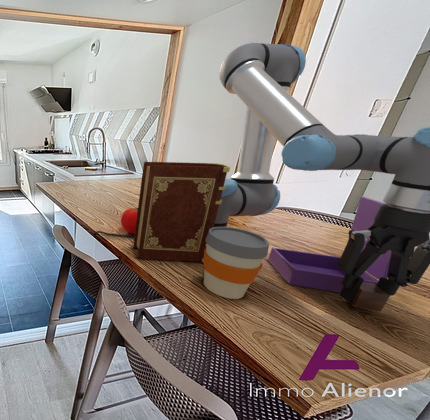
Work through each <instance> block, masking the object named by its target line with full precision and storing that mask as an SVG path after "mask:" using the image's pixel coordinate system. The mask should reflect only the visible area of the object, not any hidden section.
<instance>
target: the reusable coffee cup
mask: <svg viewBox="0 0 430 420" xmlns="http://www.w3.org/2000/svg"><path fill="white" fill-rule="evenodd" d="M206 243H207V246H206V248H205V250H204V261H203V262H202V263H203V265H202V266H203V269H204V275H203V276H204V277H203V285H204V287H206V289H207V290H208V291H210V292H211V293H213V294H215V295H217V296H219V297H222V298H226V299H231V300H239V299H241V298H243V297H244V296H245V294H246V292H247V291H248V288H249V286H250V284H253V282H255V280H256V278H257V277H258V274H259V273H260V271H261V269H262V267H263V260H264V259H265V258H267V256H268V253H269V247H270V242H269V240H268V239H267V238H265V237H264V236H262V235H260V234H257V233H255V232H252V231H249V230H246V229H242V228H237V227H231V226H227V227H213V228H211V229H210V230H209V232H208V235H207V237H206Z"/></svg>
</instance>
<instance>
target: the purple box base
mask: <svg viewBox="0 0 430 420" xmlns="http://www.w3.org/2000/svg"><path fill="white" fill-rule="evenodd" d="M340 258H341V256H335V255H329V254H321V253H313V252H306V251H299V250H293V249H286V248H285V249H284V248H278V247H271V249H270V252H269V256H268V259H267V261H268V262H269V263H270V265H271V266H272V267H273V268H274V269H275V270H276V271H277V272H278V273H279V274H280V276H281V277H282V278H283V279H284V280H285V281H286V283H288V284H289V285H294V286H299V287H303V288H304V287H305V288H310V289H316V290H320V291H321V290H322V291H328V292H333V293H339V294H340V292H341V291H342V289H343V287H344V286H343V285H342V280H343V278H344V276H345V274H346V273H345V272H343V271H342V270H341V269H339V268H338V267H337V264H338V262H339V260H340ZM360 277H361V278H363V279H364V281H363V282H367V283H373V284H375V285H377V283H378V282H379V279H377V278H376V277H374V276H373V275H371V274H370V273H368V272H367V271H365V272H364V273H363V274H362V275H361V276H360Z"/></svg>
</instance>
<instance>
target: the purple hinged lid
mask: <svg viewBox="0 0 430 420" xmlns="http://www.w3.org/2000/svg"><path fill="white" fill-rule="evenodd" d="M383 204H386V203H385V202H383V201H379V200H375V199H373V198H369V197H367V196H360V197H359V201H358V205H357V208H356V212H355V216H354V219H353V222H352V225H351V229H350V230H356V231H363V230H367V229H368V228H369V227H370V226H372V225H373V224H374V217H375V215H376V213H377V211H378V209H379V207H380V205H383ZM367 239H368V241H369V240H370V237H368V238H367ZM348 240H349V238H348V239H347V241H346V242H347V243H348ZM368 241H365V244H364V247H363V249H362V251H363V250H364V249H365V247H366V246H365V245H366V243H367V242H368ZM347 243H346V244H347ZM376 247H377V246H376ZM378 248H379V247H378ZM362 251H361V252H362ZM390 257H391V250H388V251H387V252H386V253H385V254H381V255H380V256H379V257H378V258H377V259H376V261H375V262H374V263H373V264H372V265H371V266H370V267H369V268H368V269H367V270H366V271H365V272H367V273H368V274H370V275H371V276H373V277H374V278H376V279H377V280H378V281H379V280H380V278H381V277H384V278H387V279H388V277H387V274H388V268H389V263H390Z"/></svg>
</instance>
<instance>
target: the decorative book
mask: <svg viewBox="0 0 430 420" xmlns="http://www.w3.org/2000/svg"><path fill="white" fill-rule="evenodd" d="M230 170H231V165H227V164H224V163H219V162H218V163H217V162H209V163H208V162H179V161H177V162H171V161H144V162H143V167H142V174H141V181H140V189H139V197H138V206H137V208H138V212H137V220H136V228H135V234H134V235H133V236H134V237H133V245H132V248H133V249H138V251H137V252H138V253H137V259H145V260H157V261H158V260H159V261H176V262H177V261H179V262H200V263H203V261H204V250H205V248H206V246H207V243H206V237H207V235H208V232H209V230H210V229H211V228H213V227H214V224H215V220H216V216H217V212H218V208H219V204H221V203H222V200H221V195H222V191H223V190H225V185H224V183H225V179H227V174H228V173H229V172H230Z"/></svg>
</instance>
